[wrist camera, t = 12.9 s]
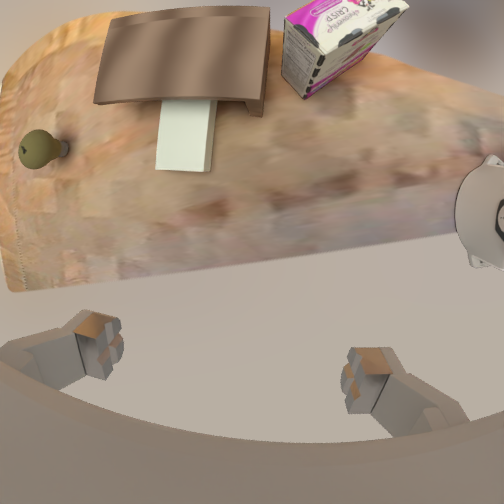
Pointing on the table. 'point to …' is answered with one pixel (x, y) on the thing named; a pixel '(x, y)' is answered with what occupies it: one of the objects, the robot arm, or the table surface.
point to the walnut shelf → (187, 56)
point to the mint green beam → (186, 135)
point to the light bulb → (40, 149)
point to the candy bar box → (332, 38)
